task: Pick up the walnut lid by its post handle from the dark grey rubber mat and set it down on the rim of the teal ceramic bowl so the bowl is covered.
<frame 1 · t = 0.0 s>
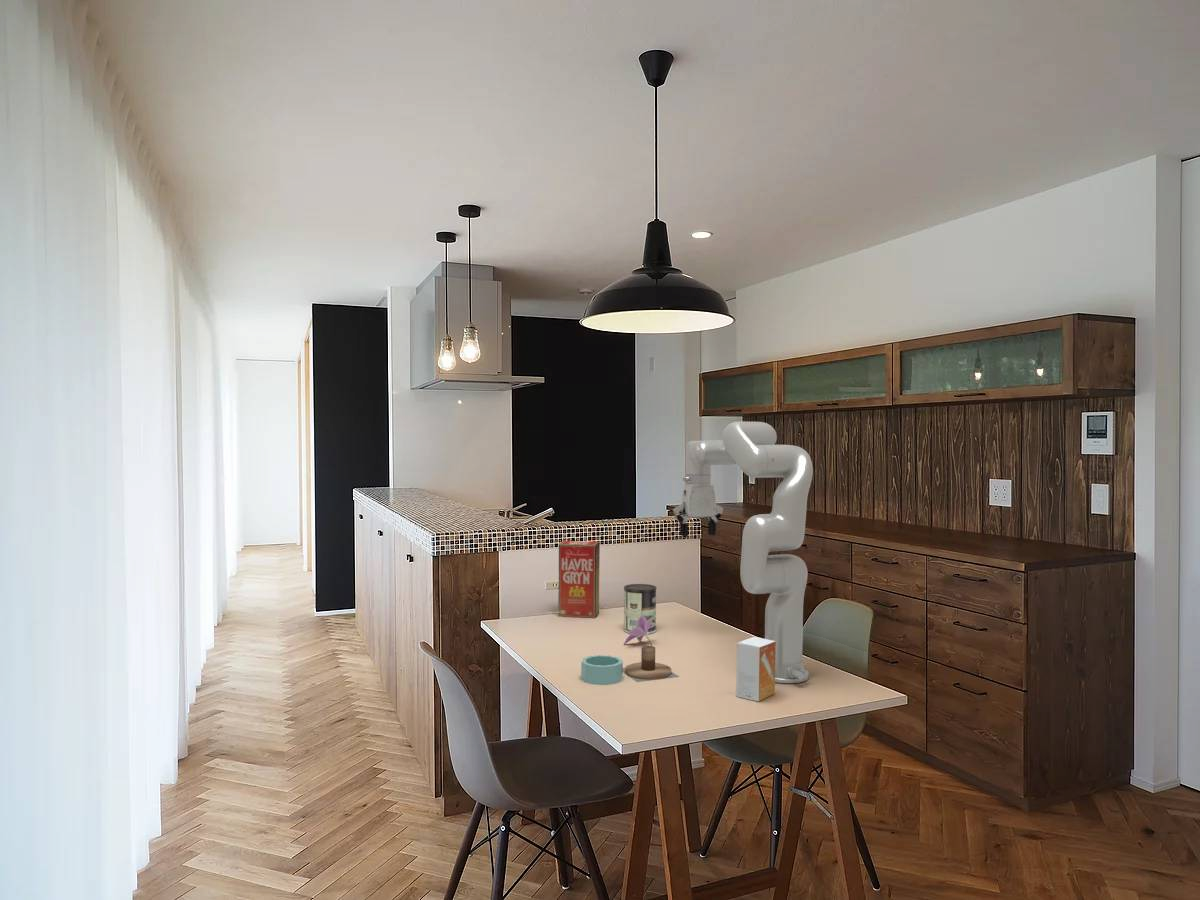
hand: (698, 535, 248), 31 cm above the table, fingers open, 9 cm apart
lily: (641, 645, 237), on the table
food packaging: (578, 615, 276), on the table
mat: (648, 674, 208), on the table
bowl: (602, 680, 203), on the table
small box: (755, 696, 192), on the table
lid: (648, 672, 208), point 1 cm above the table, touching mat
coffee can: (639, 631, 254), on the table
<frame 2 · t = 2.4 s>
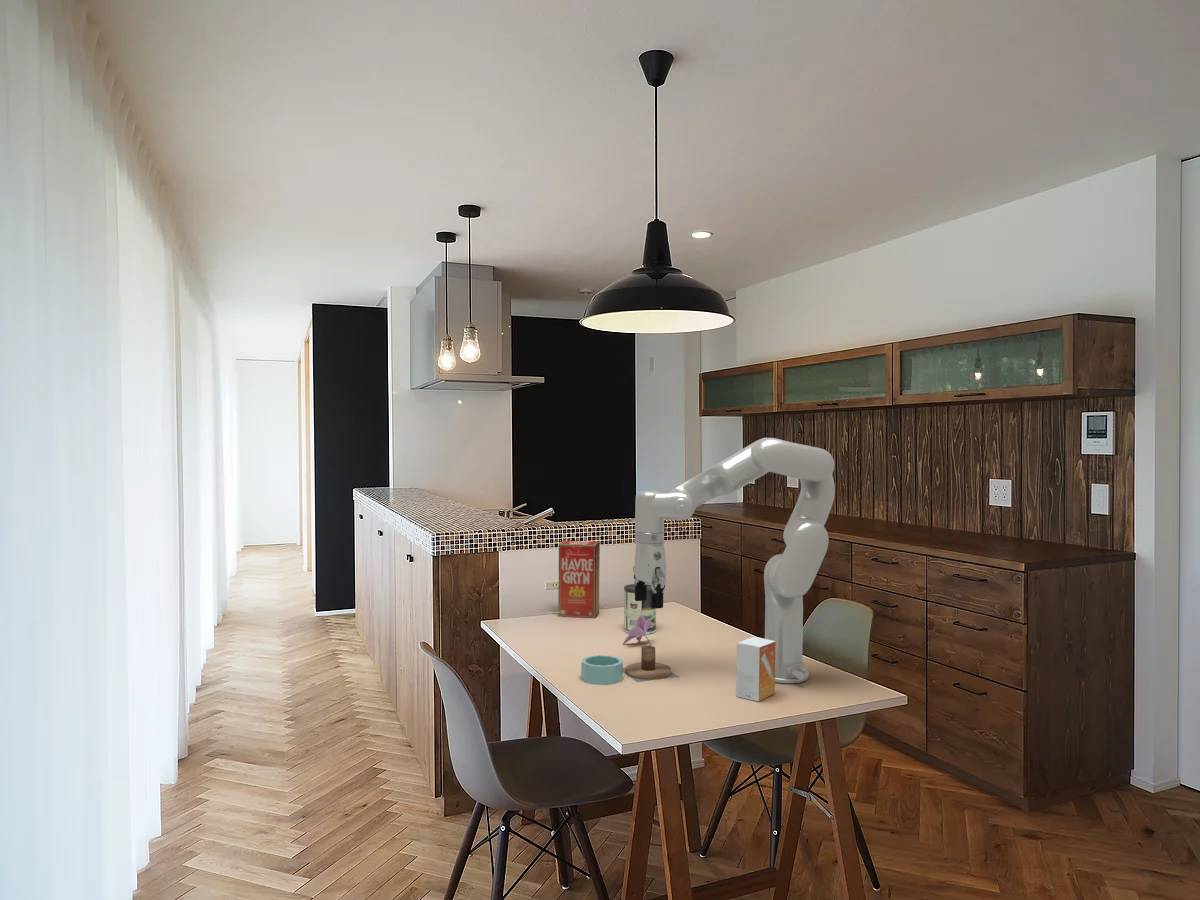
hand: (648, 604, 208), 18 cm above the table, fingers open, 9 cm apart
nothing on the table moved.
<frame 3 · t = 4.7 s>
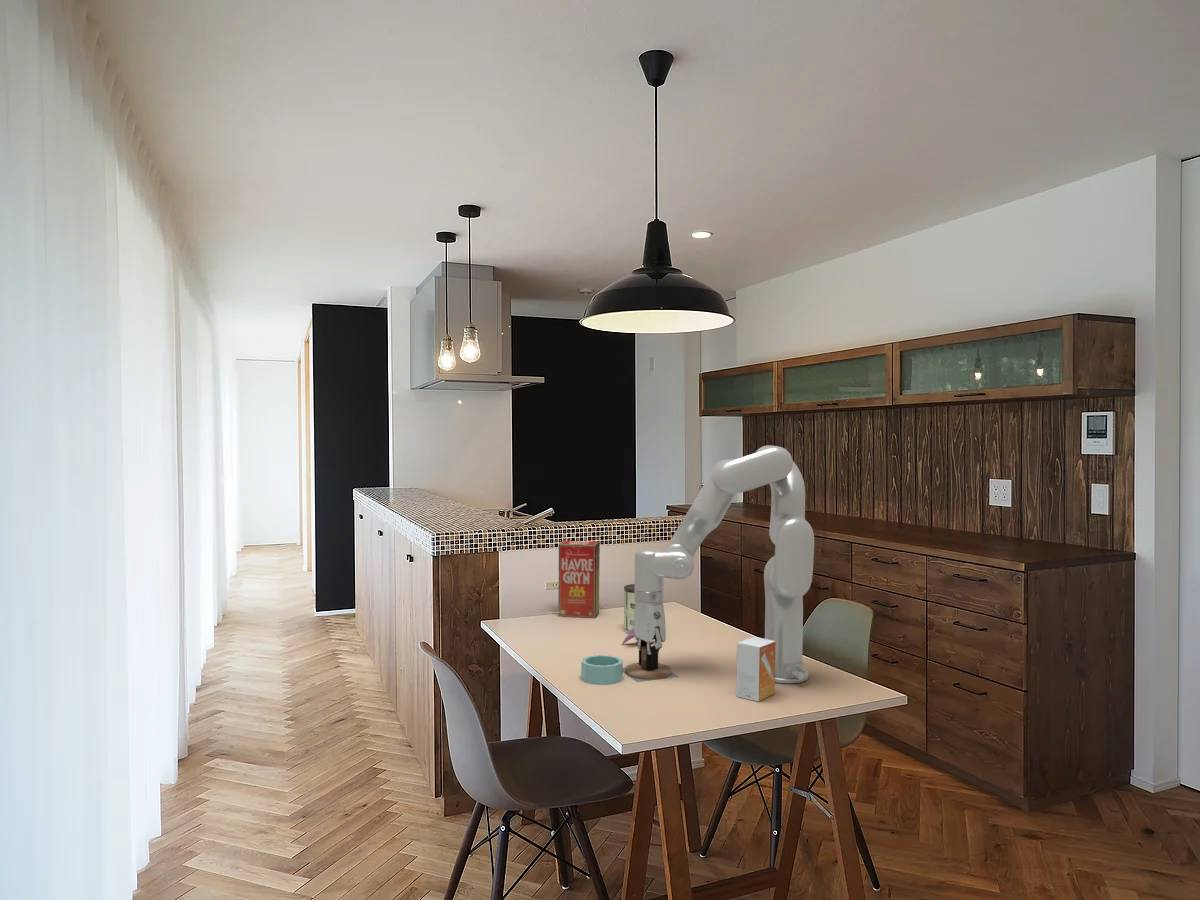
hand: (648, 666, 208), 2 cm above the table, fingers closed on lid, 3 cm apart
lid: (648, 672, 208), point 1 cm above the table, touching gripper, mat
everything else where it was.
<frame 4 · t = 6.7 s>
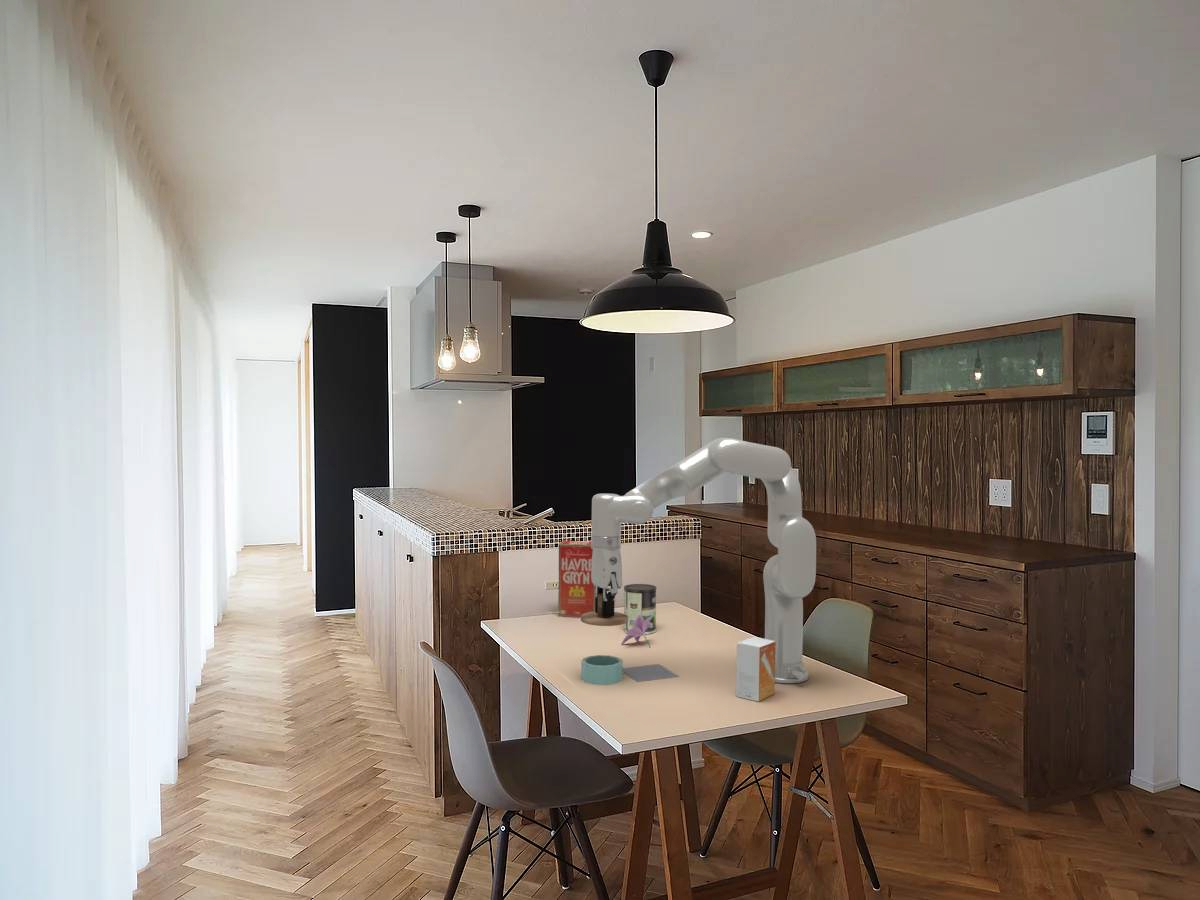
hand: (604, 613, 203), 17 cm above the table, fingers closed on lid, 3 cm apart
lid: (604, 620, 203), point 15 cm above the table, touching gripper
everything else where it was.
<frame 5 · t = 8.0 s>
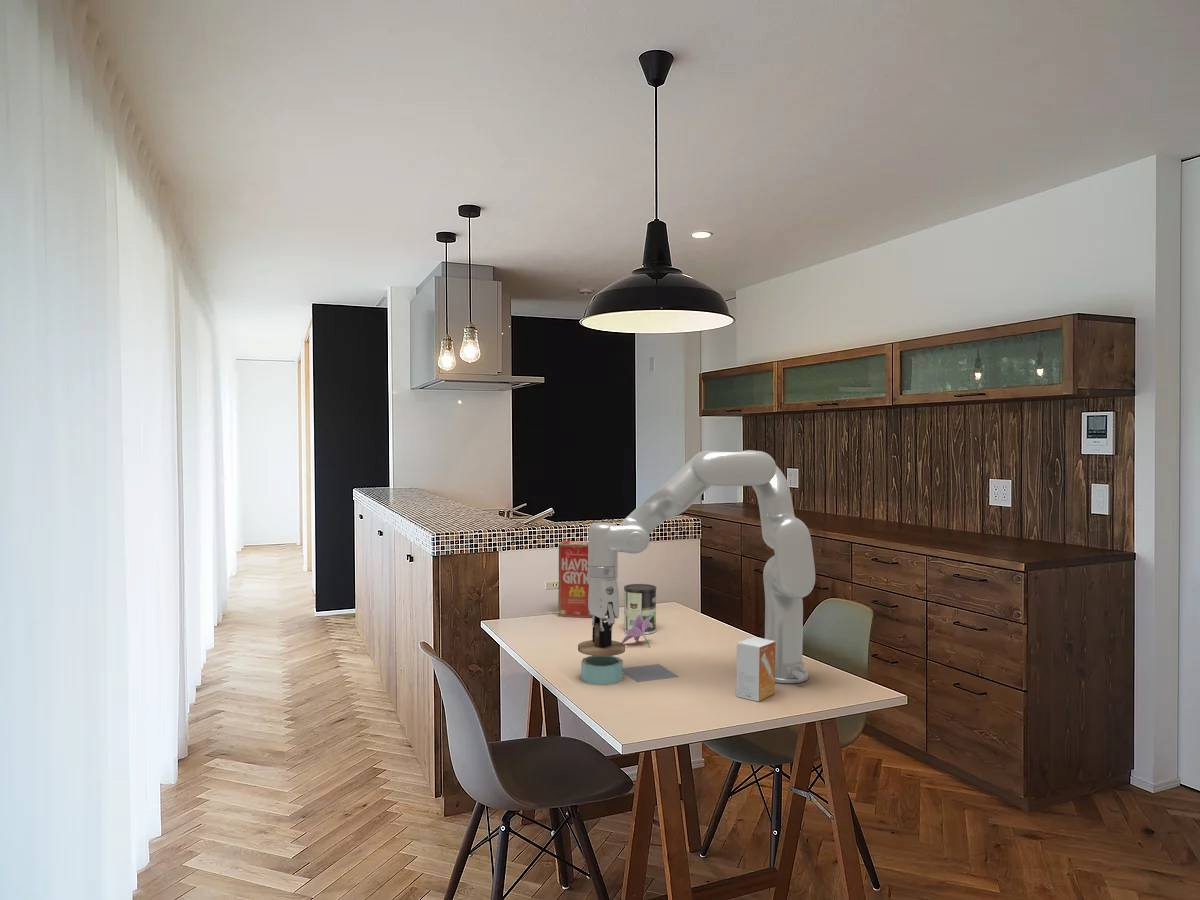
hand: (601, 643, 203), 9 cm above the table, fingers closed on lid, 3 cm apart
lid: (601, 649, 203), point 8 cm above the table, touching gripper
everything else where it was.
when the fingers open (8 cm above the table, at t = 8.9 s): lid drops 2 cm, resting on bowl.
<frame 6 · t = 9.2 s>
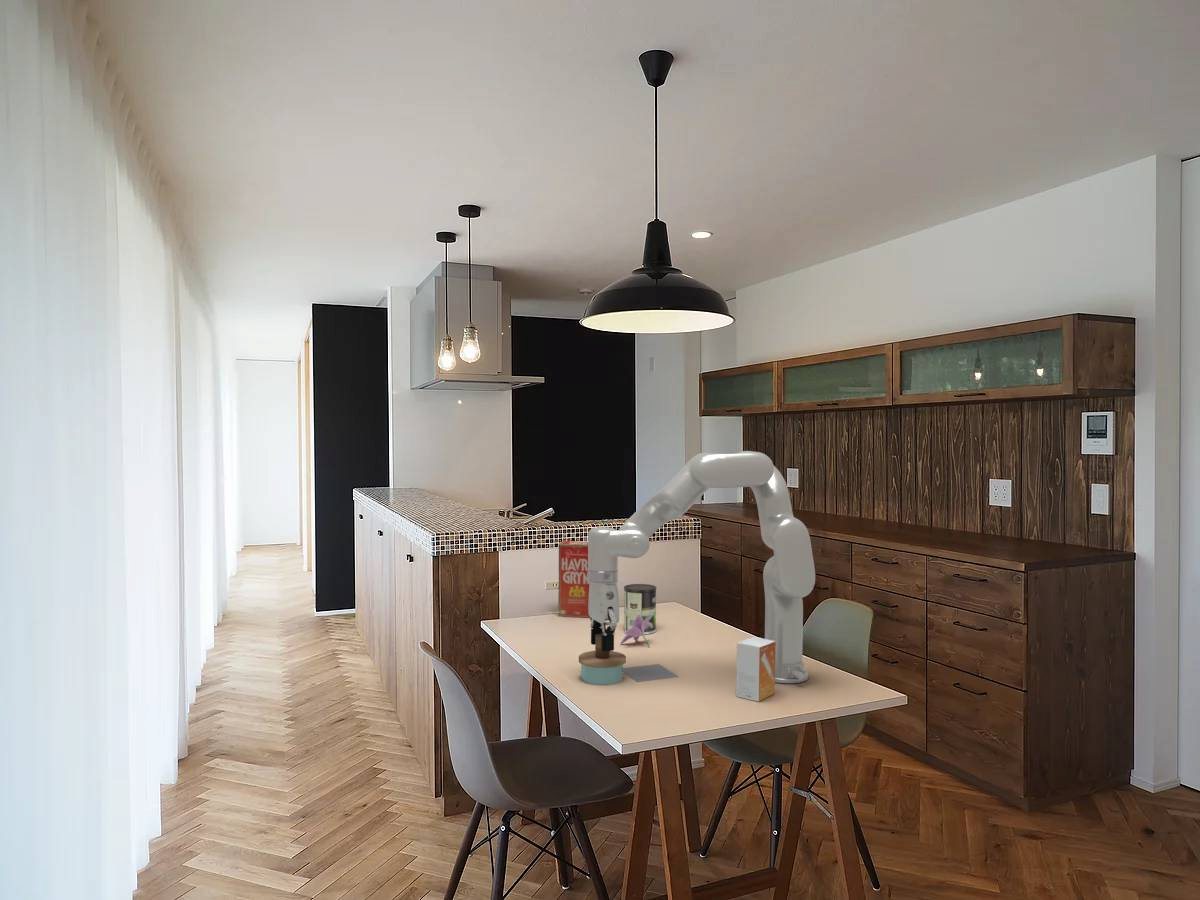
hand: (602, 646, 203), 9 cm above the table, fingers open, 6 cm apart
lid: (602, 660, 203), point 5 cm above the table, touching bowl
everything else where it was.
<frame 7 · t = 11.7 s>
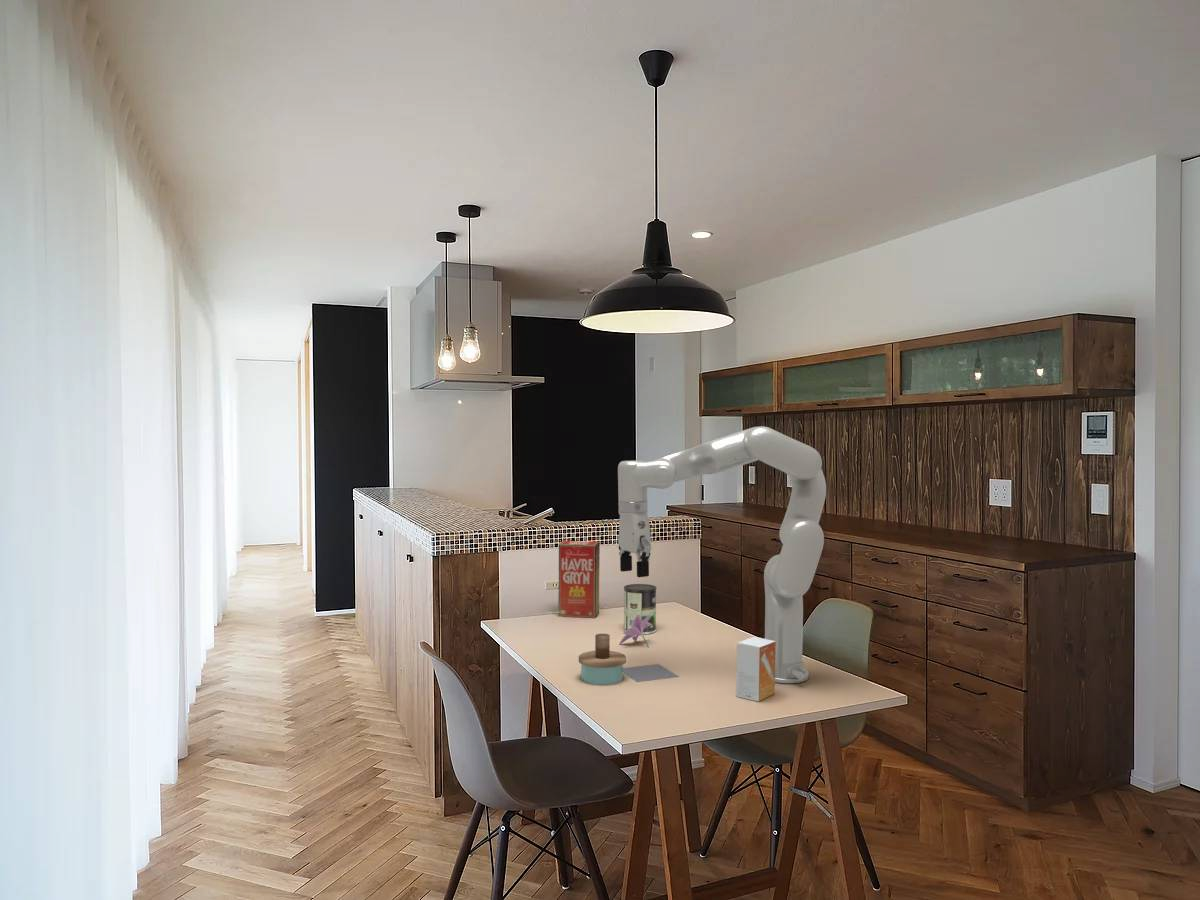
hand: (634, 573, 208), 26 cm above the table, fingers open, 9 cm apart
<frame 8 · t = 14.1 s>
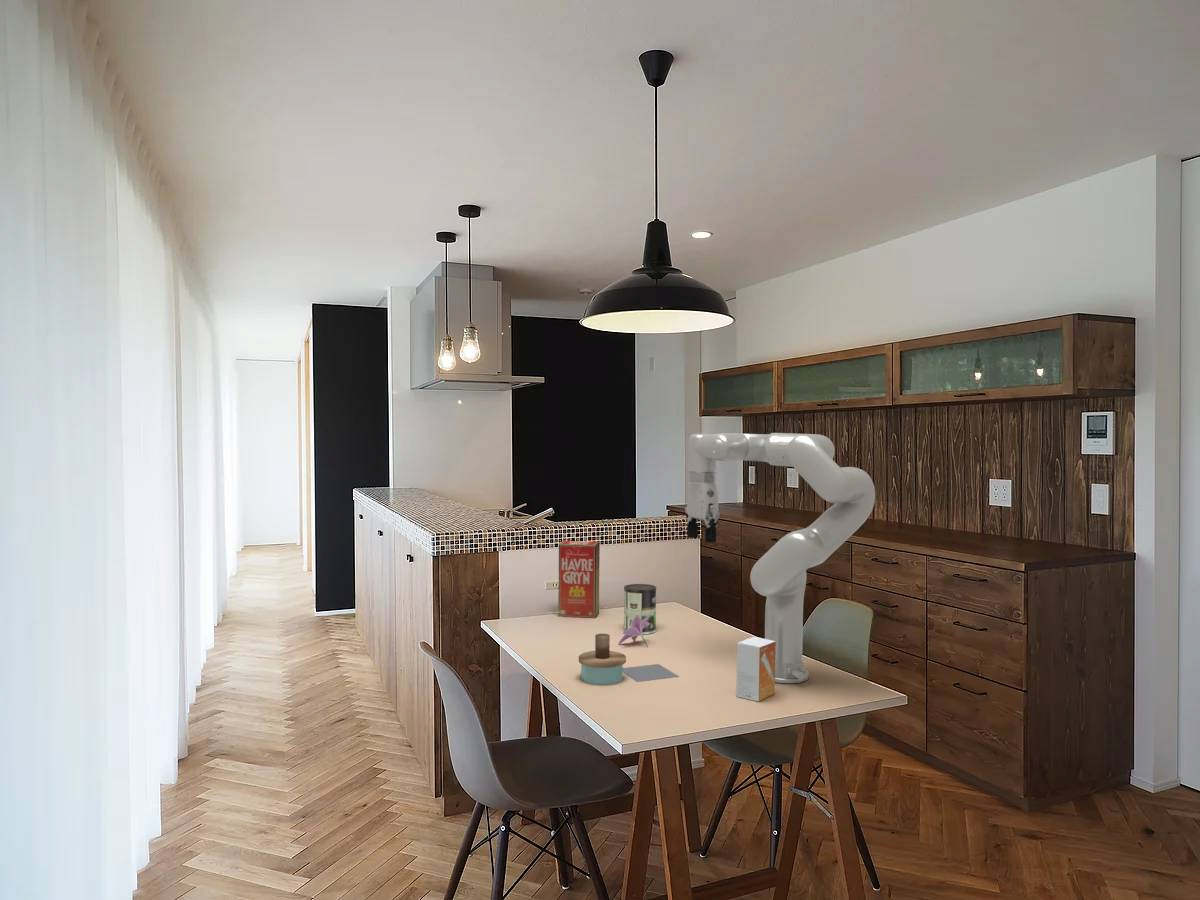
hand: (701, 539, 222), 33 cm above the table, fingers open, 9 cm apart
at the end: lid 0.0 cm off-centre on the bowl, point 5.0 cm above the bowl's base; lid tilted 0°; the gripper is holding nothing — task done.
